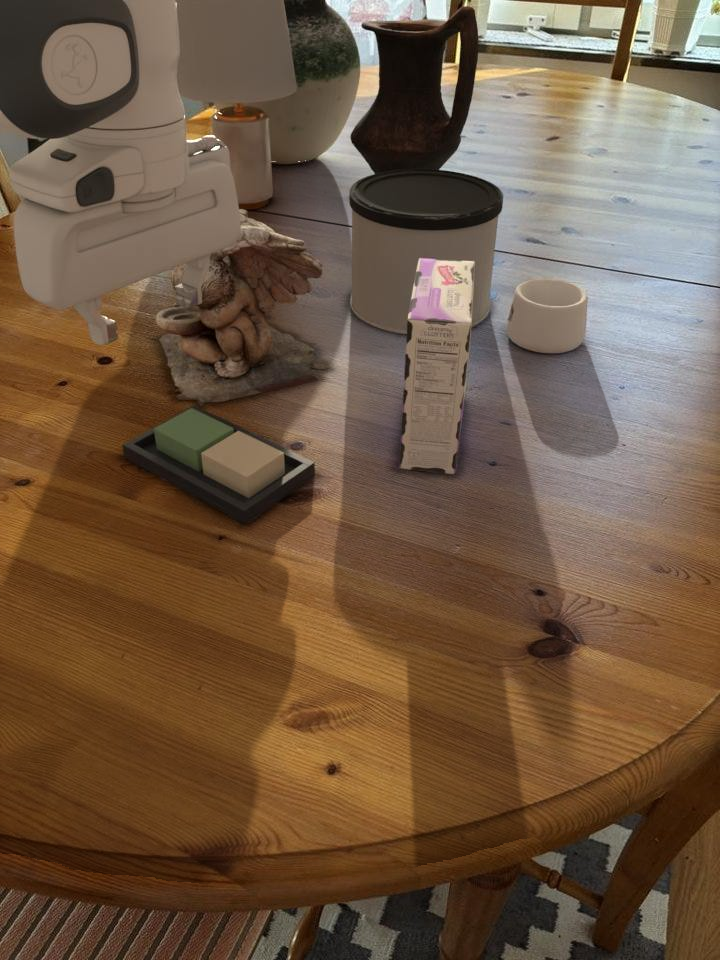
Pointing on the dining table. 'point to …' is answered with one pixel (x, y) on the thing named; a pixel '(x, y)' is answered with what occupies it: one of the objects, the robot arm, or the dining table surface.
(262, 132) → the lamp
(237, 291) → the cherub figurine
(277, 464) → the cream pad
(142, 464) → the dark serving tray
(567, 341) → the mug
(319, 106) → the vase
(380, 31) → the jug
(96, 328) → the robot arm
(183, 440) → the sage pad
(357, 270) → the container
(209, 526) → the dining table surface
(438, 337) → the candy box
